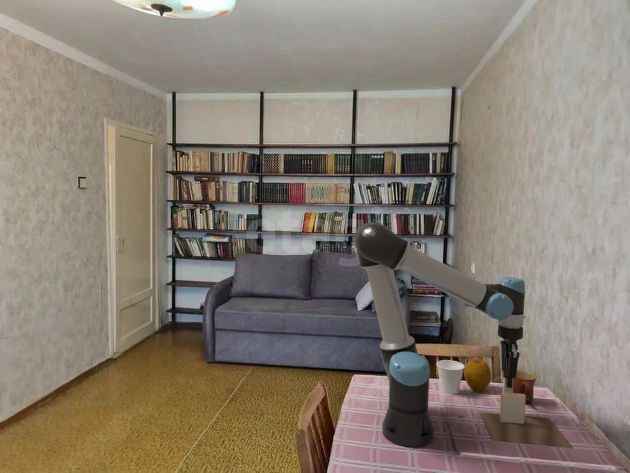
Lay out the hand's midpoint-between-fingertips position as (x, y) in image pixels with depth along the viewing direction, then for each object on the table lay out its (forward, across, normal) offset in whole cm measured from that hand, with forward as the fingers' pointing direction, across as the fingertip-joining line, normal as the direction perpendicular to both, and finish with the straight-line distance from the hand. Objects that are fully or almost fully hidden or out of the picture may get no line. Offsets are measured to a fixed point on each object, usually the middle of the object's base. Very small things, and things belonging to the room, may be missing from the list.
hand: (507, 395), depth 144 cm
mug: (+7, +10, -8) cm, 15 cm away
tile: (+6, -6, 0) cm, 8 cm away
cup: (+7, +15, +16) cm, 23 cm away
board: (+7, -10, -2) cm, 12 cm away
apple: (+7, +21, +5) cm, 23 cm away
